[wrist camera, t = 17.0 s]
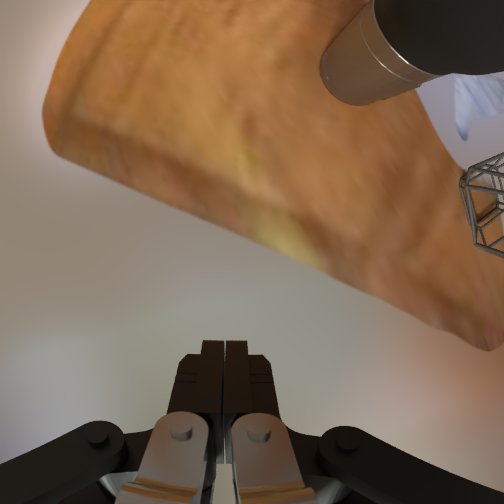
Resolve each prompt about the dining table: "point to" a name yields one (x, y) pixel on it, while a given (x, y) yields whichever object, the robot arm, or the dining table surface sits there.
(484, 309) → the dining table surface
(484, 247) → the geometric lantern
